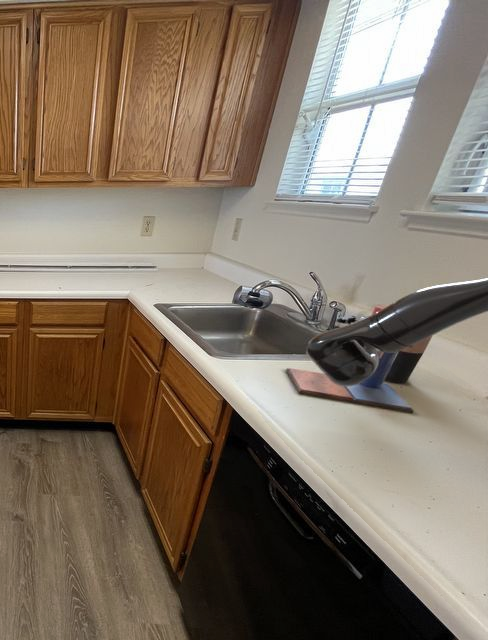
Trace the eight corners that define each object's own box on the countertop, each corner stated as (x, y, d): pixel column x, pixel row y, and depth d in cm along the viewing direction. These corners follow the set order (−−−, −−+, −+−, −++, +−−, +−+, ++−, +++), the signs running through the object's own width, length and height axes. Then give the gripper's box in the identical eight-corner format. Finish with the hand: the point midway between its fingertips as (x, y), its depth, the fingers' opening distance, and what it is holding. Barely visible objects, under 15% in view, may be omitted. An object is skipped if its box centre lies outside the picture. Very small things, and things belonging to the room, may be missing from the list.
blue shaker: (376, 381, 105) (396, 341, 101) (384, 390, 101) (405, 348, 97) (353, 378, 107) (372, 338, 102) (360, 386, 103) (380, 345, 98)
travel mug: (378, 381, 108) (415, 307, 99) (364, 369, 115) (398, 298, 106) (414, 386, 106) (455, 310, 97) (398, 373, 113) (435, 302, 104)
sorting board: (385, 386, 106) (387, 382, 105) (412, 413, 94) (414, 409, 93) (285, 370, 113) (287, 367, 112) (298, 393, 101) (300, 389, 101)
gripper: (420, 331, 78) (435, 316, 88) (329, 312, 88) (352, 299, 98) (401, 367, 81) (417, 348, 91) (315, 344, 91) (339, 329, 101)
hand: (383, 323), depth 94 cm, fingers closed on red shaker, 4 cm apart
